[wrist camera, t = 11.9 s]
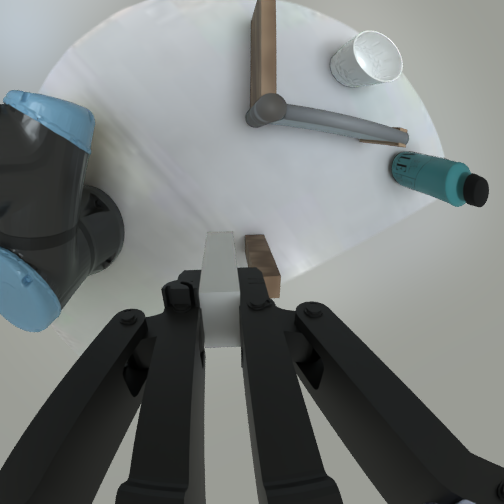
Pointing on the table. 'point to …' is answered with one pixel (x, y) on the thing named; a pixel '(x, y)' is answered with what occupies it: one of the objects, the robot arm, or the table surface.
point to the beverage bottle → (440, 179)
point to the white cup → (367, 60)
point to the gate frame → (264, 121)
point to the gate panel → (343, 126)
